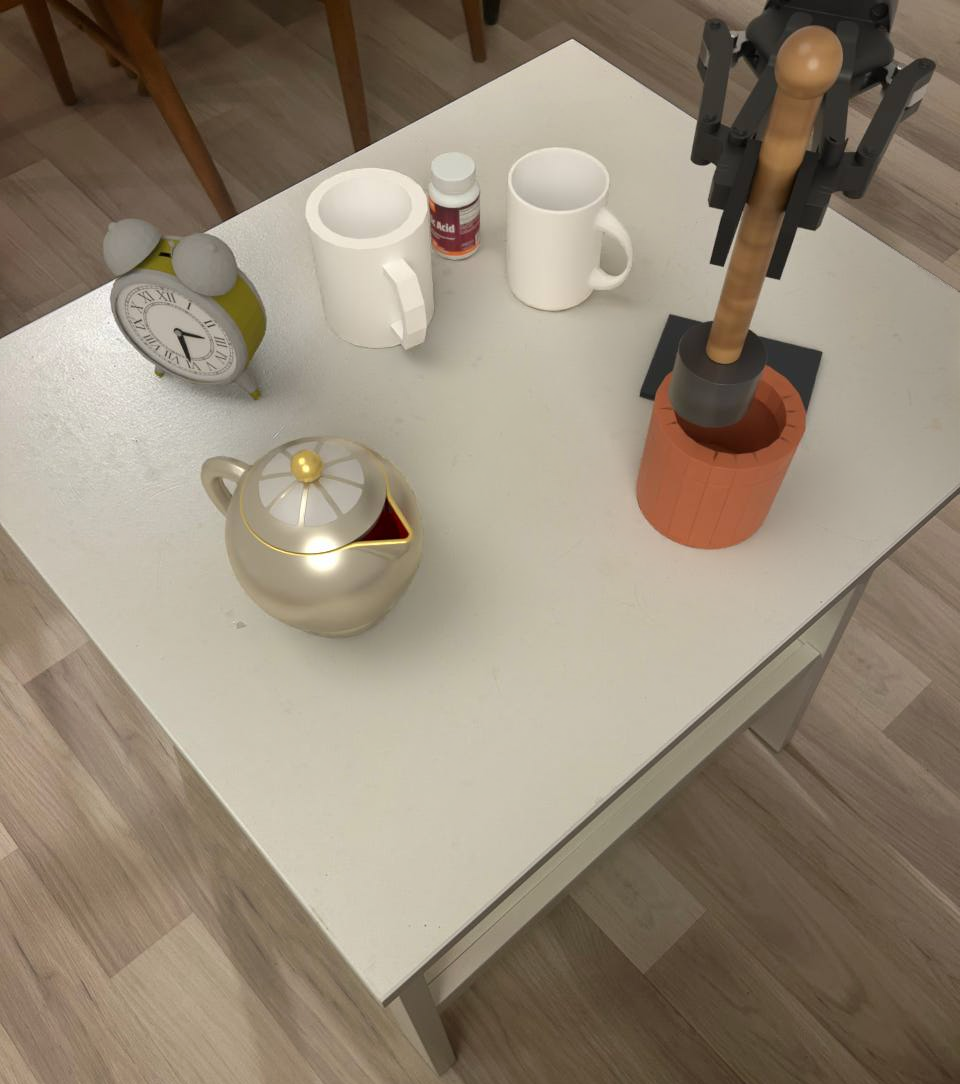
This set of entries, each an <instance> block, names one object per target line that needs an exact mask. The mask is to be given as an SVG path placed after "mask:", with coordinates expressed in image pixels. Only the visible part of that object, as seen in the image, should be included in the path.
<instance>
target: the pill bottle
mask: <svg viewBox="0 0 960 1084" xmlns="http://www.w3.org/2000/svg"><path fill="white" fill-rule="evenodd" d="M476 178H477V175H476V163H475V161H474V159H473V158H472V157H471V156H469V155H468V154H466V153H463V152H460V151H449V152H444V153H443V152H442V153H441V154H438V155H437V156H436V157H434V159H433V160H432V161H431V163H430V181H429V184H428V188H427V191H428V192H427V194H428V197H427V198H428V215H429V231H430V244H431V247H432V249H433V251H434V252H435V253H436V254H437V255H438V256H439V257H442V258H444V259H446V260H453V261H454V260H455V261H457V260H463V259H466V258H469V257H471V256H473V255H474V254H476V252H477V251H478V249H479V247H480V245H481V187H480V184H479V181H478V180H477V179H476Z"/></svg>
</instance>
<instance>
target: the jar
mask: <svg viewBox="0 0 960 1084" xmlns="http://www.w3.org/2000/svg"><path fill="white" fill-rule="evenodd" d="M672 372H673V371H672ZM672 372H670V373H669V374H668V375H667V376H666V377H665V379H664V380H663V382H662V383H661V385H660V387H659V388H658V390H657V392H656V396H655V400H653V404H652V410H651V415H650V418H649V419H650V420H649V423H648V427H647V432H646V438H645V442H644V446H643V450H642V456H641V460H640V463H639V468H638V472H637V473H638V474H637V479H636V487H635V493H636V495H635V496H636V501H637V504H638V506H639V509H640V511H641V513H642V515H643V517H644V518H645V519H646V520H647V522H648V523H649V525H651V527H652V528H653V529H654V530H656V531H657V532H658V533H660V534H661V535H662V536H664V537H665V538H667V539H668V540H670V541H673V542H675V543H677V544H679V545H682V546H686V547H689V548H690V547H691V548H695V549H701V550H702V549H703V550H716V549H717V550H718V549H725V548H728V547H733V546H735V545H738V544H740V543H742V542H744V541H746V540H748V539H749V538H750V537H752V536H753V535H755V533H756V532H758V530H760V528H761V527H762V525H763V524H764V522H765V520H766V519H767V516H768V514H769V512H770V510H771V509H772V506H773V504H774V501H775V500H776V497H777V495H778V492H779V490H780V488H781V486H782V483H783V481H784V479H785V476H786V475H787V472H788V470H789V468H790V466H791V463H792V461H793V459H794V457H795V454H796V452H797V450H798V448H799V445H800V443H801V441H802V439H803V437H804V434H805V432H806V425H807V424H806V423H807V420H806V419H807V414H806V411H805V408H804V405H803V403H802V400H801V397H800V395H799V393H798V392H797V390H796V389H795V388H794V387H793V386H792V384H791V383H790V382H789V381H788V380H787V379H786V378H785V377H784V376H782V375H781V374H779V373H778V372H776V371H775V370H774V369H772V368H771V367H769V366H767V365H766V366H765V369H764V371H763V374H762V377H761V380H760V382H759V385H758V388H757V391H756V394H755V396H754V399H753V402H752V405H751V407H750V410H749V412H748V413H747V414H746V416H745V417H744V418H742V419H741V420H740V421H738V422H737V423H734V424H732V425H729V426H726V427H719V428H710V427H703V426H699V425H696V424H693V423H691V422H689V421H687V420H685V419H684V418H682V417H681V416H680V415H679V414H678V413H677V412H676V411H675V410H674V408H673V407H672V405H671V403H670V400H669V396H668V390H669V385H670V381H671V377H672Z"/></svg>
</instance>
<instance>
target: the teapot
mask: <svg viewBox="0 0 960 1084" xmlns="http://www.w3.org/2000/svg"><path fill="white" fill-rule="evenodd" d="M223 478H224V479H227V480H229V481H232V482H235V484H236V488H235V489H234V491H233V493H231V492H230V490H229V488H228V487H227V485H226V483H225V482H224V480H223ZM200 481H201V484H202V487H203V489H204V491H205V493H206V495H207V496H208V498H209V499H210V501H211V503H212V504H213V505H214V506H215V507H216V509H217V510H218V511H219V512H220V513H221V515H223V517H224V518H225V526H224V531H225V532H224V537H225V548H226V553H227V557H228V560H229V565H230V567H231V570H232V572H233V574H234V576H235V578H236V580H237V582H238V584H239V585H240V587H241V588H242V590H243V591H244V593H245V594H246V595H247V596H248V598H250V600H251V601H252V602H253V603H254V604H255V605H256V606H257V607H258V608H259V609H261V610H262V611H263V612H265V613H266V614H267V615H268V616H270V617H272V618H273V619H275V620H277V621H278V622H281V623H282V624H285V625H286V626H289V627H292V628H295V629H298V630H302V631H306V632H308V633H311V634H313V635H315V636H319V637H322V638H328V639H329V638H330V639H344V638H351V637H354V636H358V635H360V634H363V633H365V632H367V631H369V630H371V629H372V628H374V627H375V626H376V625H378V624H379V623H380V622H381V621H382V620H384V618H385V617H386V616H387V614H388V613H389V612H390V610H391V609H392V608H393V607H394V606H395V605H396V604H397V603H398V602H399V601H400V599H402V597H403V596H404V595H405V593H406V592H407V590H408V589H409V587H410V586H411V584H412V582H413V580H414V578H415V576H416V573H417V571H418V569H419V565H420V562H421V559H422V554H423V548H424V525H423V519H422V514H421V510H420V507H419V506H420V505H419V503H418V501H417V498H416V495H415V494H414V491H413V490H412V488H411V486H410V484H409V482H408V481H407V480H406V478H405V477H404V475H403V474H402V473H401V472H400V470H399V469H398V468H397V467H396V466H395V465H394V464H393V463H392V462H391V461H389V460H388V459H387V458H386V457H385V456H384V455H382V454H381V453H379V452H378V451H377V450H375V449H373V448H371V447H369V446H367V445H365V444H363V443H361V442H358V441H355V440H352V439H349V438H345V437H339V436H331V435H316V436H315V435H313V436H306V437H301V438H296V439H293V440H290V441H287V442H285V443H282V444H280V445H278V446H276V447H274V448H272V449H271V450H269V451H267V452H266V453H265V454H263V455H262V456H261V457H259V459H257V460H256V461H255V462H254V463H253V464H249V463H247V462H245V461H242V460H239V459H238V458H234V457H230V456H227V455H226V456H225V455H218V456H214V457H209V458H207V459H206V460H205V461H203V463H202V465H201V468H200Z"/></svg>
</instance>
